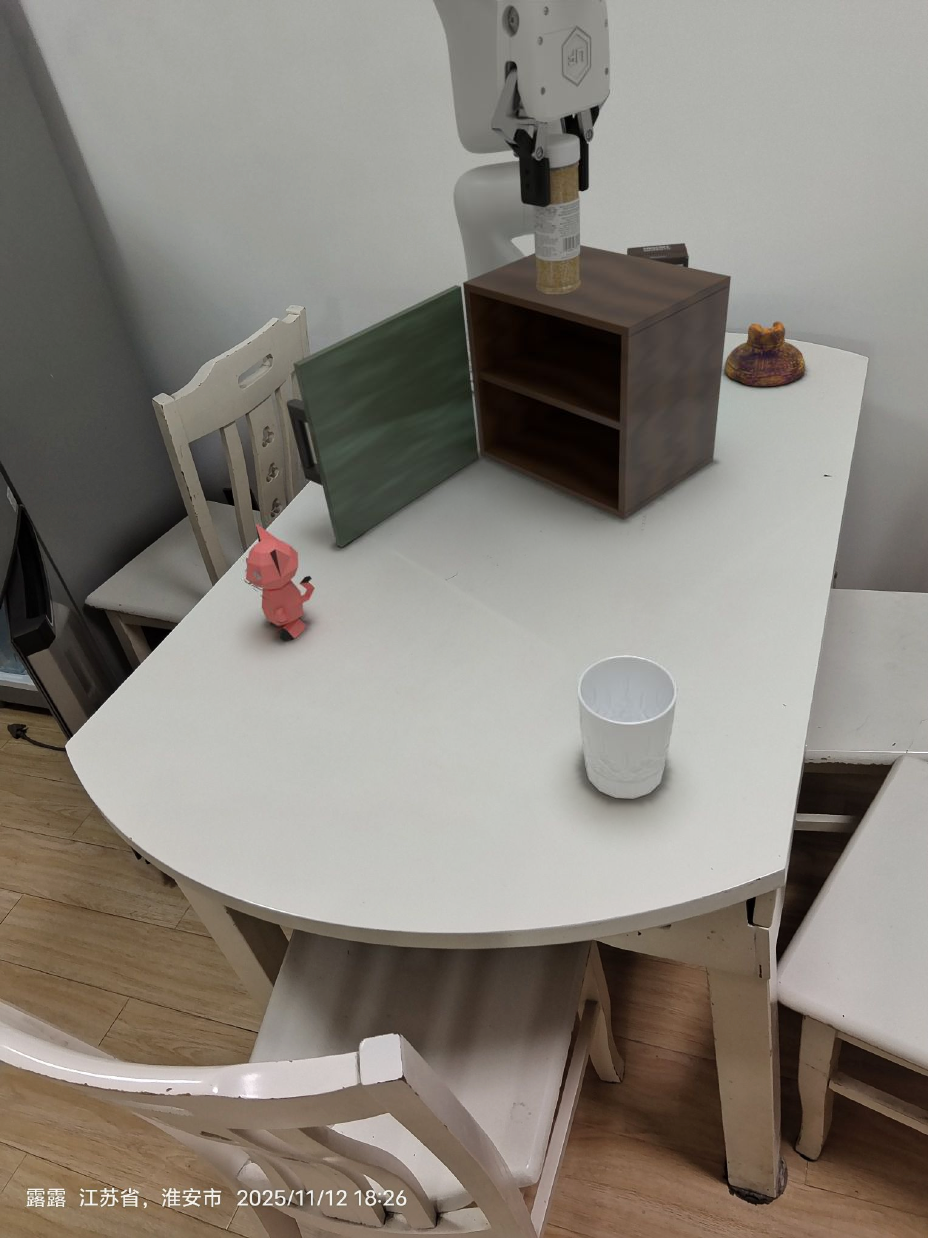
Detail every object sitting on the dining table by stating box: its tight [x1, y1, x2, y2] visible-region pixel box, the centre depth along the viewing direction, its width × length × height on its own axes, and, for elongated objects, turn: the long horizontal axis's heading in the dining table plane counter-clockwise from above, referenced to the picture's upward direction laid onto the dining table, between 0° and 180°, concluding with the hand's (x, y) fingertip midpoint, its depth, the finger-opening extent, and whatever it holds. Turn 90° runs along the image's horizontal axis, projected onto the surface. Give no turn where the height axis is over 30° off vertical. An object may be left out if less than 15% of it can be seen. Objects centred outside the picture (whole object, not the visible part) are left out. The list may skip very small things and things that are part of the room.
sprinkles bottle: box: [533, 134, 581, 294], centre depth 81 cm, size 5×5×14 cm
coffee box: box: [626, 242, 690, 268], centre depth 135 cm, size 9×6×16 cm
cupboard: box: [462, 244, 732, 521], centre depth 109 cm, size 18×26×24 cm
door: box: [285, 284, 479, 548], centre depth 107 cm, size 7×26×24 cm, turn 138°
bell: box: [724, 320, 806, 387], centre depth 129 cm, size 12×12×7 cm
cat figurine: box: [242, 523, 315, 642], centre depth 91 cm, size 7×7×12 cm
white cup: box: [576, 654, 678, 800], centre depth 72 cm, size 8×8×10 cm
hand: (555, 194), depth 80 cm, fingers closed on sprinkles bottle, 4 cm apart
